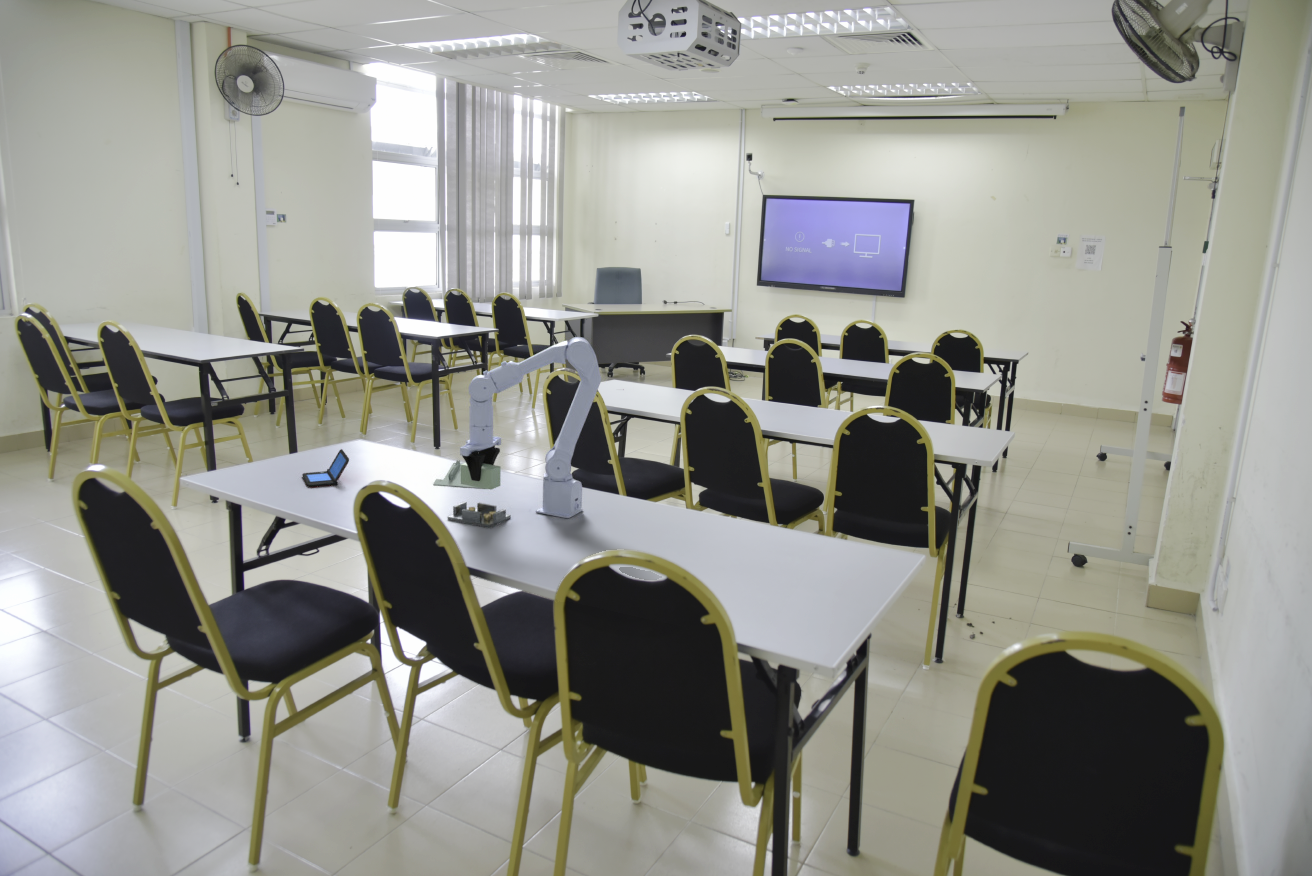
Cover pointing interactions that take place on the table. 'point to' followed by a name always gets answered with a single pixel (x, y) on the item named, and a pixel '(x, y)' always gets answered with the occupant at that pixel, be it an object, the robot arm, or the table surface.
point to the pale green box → (482, 476)
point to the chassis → (478, 515)
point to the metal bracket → (453, 478)
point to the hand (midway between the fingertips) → (481, 478)
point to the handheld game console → (328, 473)
